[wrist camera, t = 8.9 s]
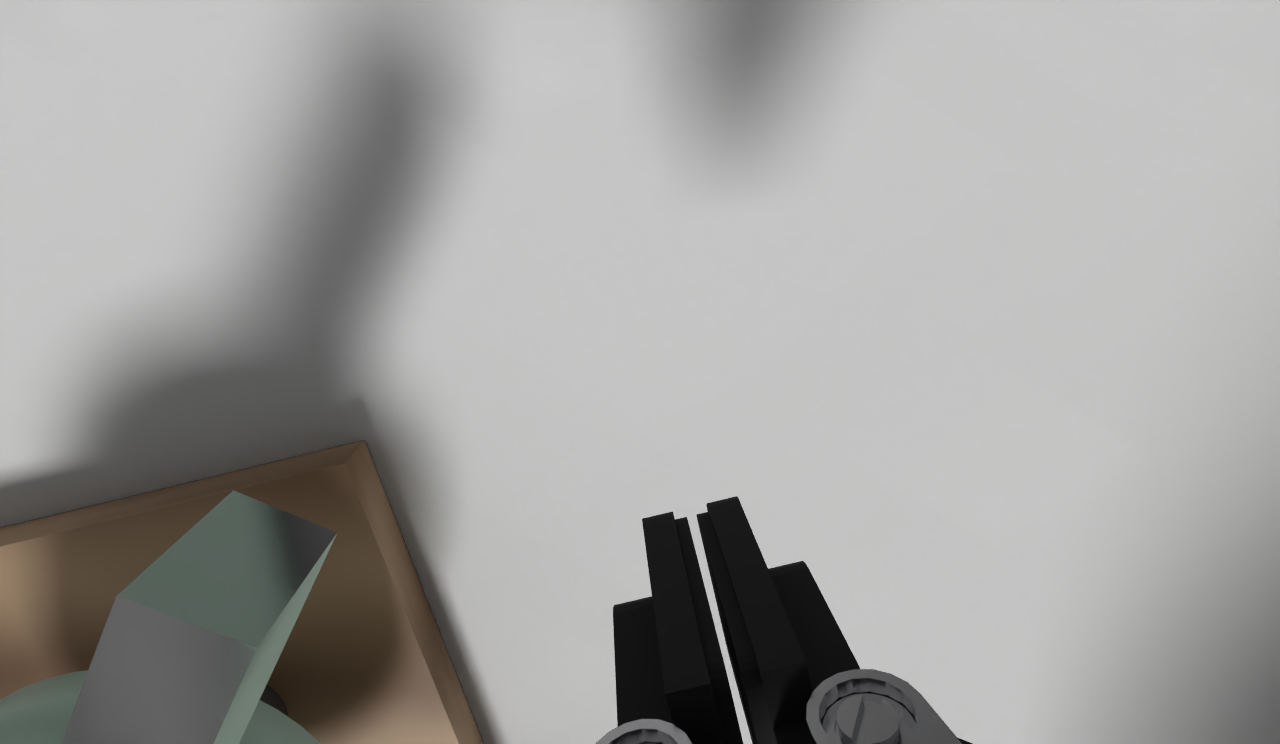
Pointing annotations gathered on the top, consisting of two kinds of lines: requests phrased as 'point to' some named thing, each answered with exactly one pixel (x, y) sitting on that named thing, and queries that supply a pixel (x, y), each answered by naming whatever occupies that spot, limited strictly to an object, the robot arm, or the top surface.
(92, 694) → the green door lever handle
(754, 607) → the robot arm
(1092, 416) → the top surface
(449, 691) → the walnut board
